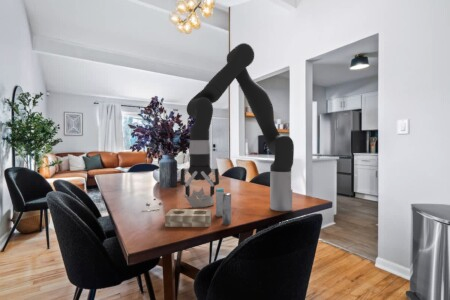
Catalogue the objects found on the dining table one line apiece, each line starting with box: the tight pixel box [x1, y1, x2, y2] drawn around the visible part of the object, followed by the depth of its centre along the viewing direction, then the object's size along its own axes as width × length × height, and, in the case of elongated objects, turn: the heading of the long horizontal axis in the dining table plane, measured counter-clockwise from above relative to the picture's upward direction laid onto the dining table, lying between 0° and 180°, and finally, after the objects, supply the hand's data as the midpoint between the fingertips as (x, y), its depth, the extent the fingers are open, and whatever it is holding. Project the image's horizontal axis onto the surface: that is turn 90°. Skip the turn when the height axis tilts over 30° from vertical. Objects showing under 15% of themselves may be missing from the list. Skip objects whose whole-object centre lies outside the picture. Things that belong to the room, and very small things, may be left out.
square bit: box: [215, 187, 225, 217], centre depth 98 cm, size 3×3×11 cm
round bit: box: [222, 192, 232, 226], centre depth 88 cm, size 3×3×11 cm
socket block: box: [164, 208, 213, 228], centre depth 89 cm, size 16×8×4 cm, turn 88°
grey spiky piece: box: [183, 187, 215, 209], centre depth 115 cm, size 13×11×10 cm
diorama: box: [145, 198, 163, 212], centre depth 115 cm, size 9×27×4 cm, turn 16°
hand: (199, 196), depth 88 cm, fingers open, 8 cm apart
